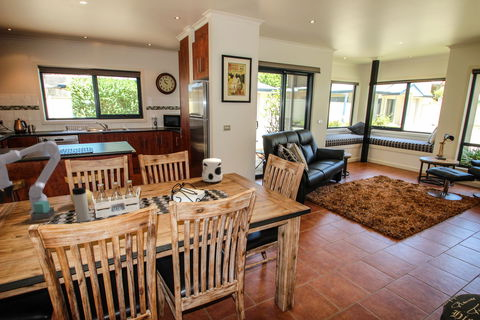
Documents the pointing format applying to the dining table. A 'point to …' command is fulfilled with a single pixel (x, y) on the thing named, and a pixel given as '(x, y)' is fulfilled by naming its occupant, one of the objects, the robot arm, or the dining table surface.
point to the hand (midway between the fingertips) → (6, 200)
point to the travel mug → (81, 204)
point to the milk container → (212, 170)
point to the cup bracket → (43, 215)
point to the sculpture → (89, 197)
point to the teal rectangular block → (41, 207)
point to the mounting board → (42, 219)
